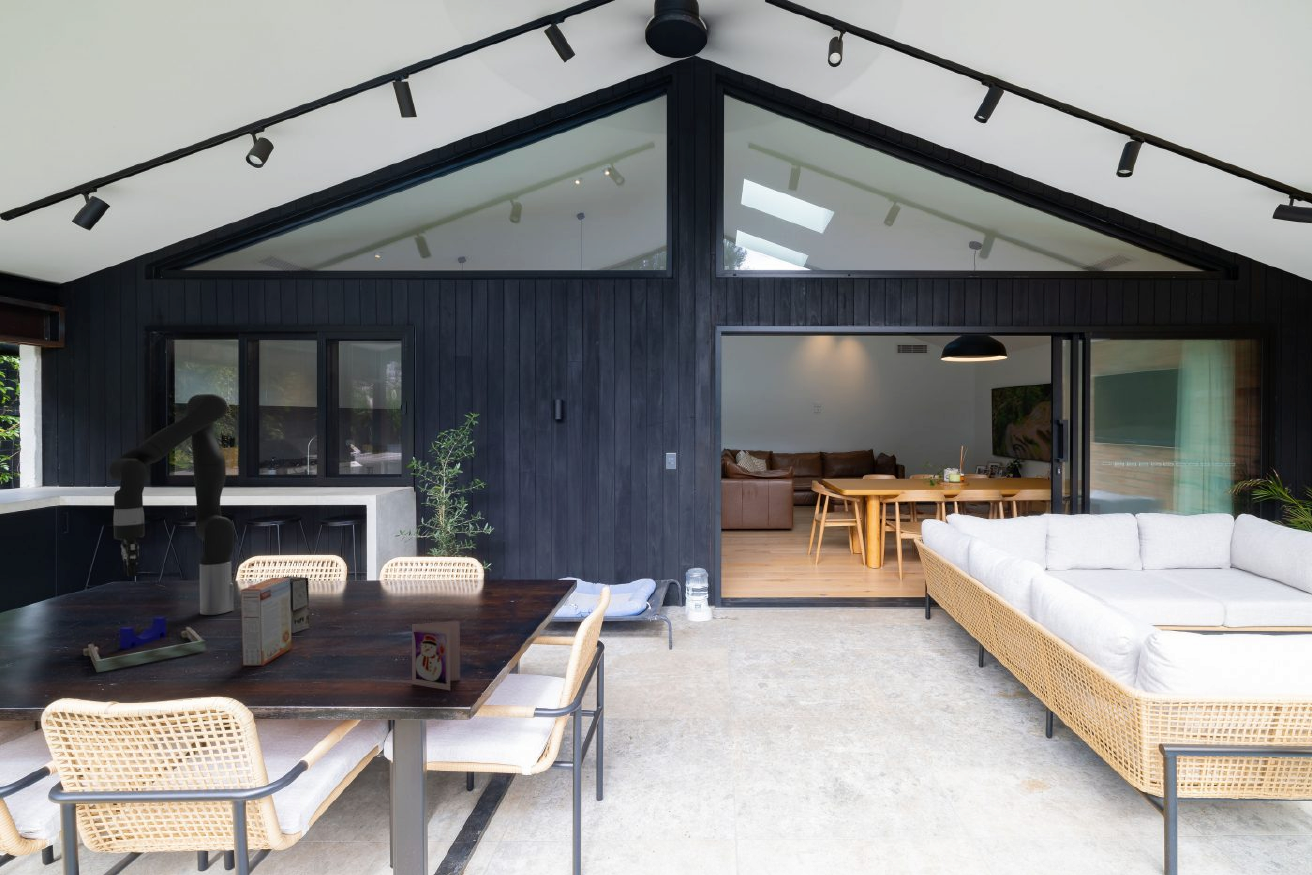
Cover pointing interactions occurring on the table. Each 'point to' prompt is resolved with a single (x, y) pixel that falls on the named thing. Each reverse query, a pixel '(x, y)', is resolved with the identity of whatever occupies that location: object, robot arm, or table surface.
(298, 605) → the coffee box
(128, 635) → the blue notched block
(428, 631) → the greeting card
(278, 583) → the cracker box
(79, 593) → the table surface
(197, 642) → the grey-green open frame
